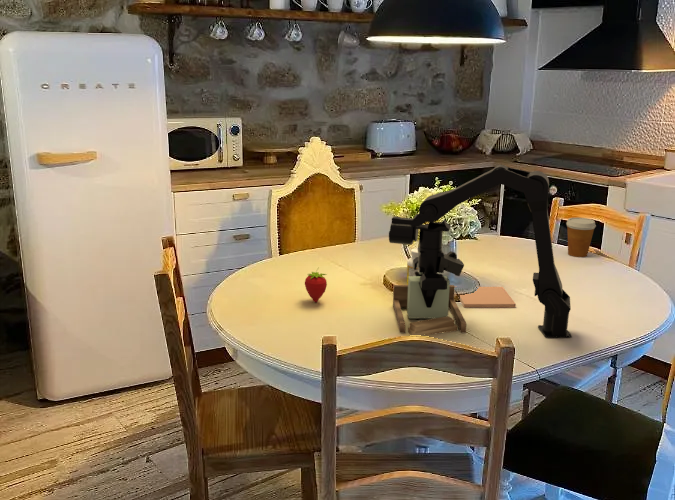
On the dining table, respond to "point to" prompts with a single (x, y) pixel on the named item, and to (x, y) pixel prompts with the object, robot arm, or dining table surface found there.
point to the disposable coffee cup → (579, 236)
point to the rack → (401, 302)
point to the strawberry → (315, 285)
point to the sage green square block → (417, 302)
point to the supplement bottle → (410, 263)
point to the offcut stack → (432, 326)
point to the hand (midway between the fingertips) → (427, 304)
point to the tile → (488, 298)
